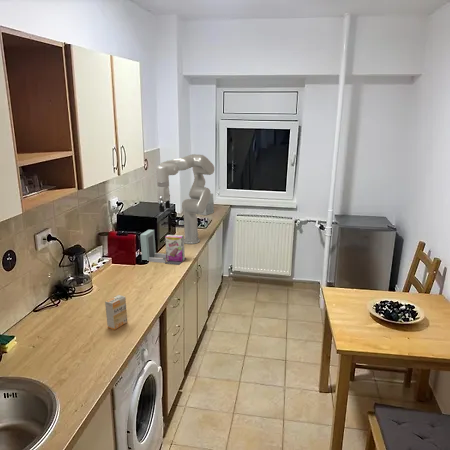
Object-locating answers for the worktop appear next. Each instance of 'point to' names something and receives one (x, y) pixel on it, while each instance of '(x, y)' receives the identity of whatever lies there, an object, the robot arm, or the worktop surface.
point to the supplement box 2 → (208, 206)
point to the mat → (174, 262)
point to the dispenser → (150, 248)
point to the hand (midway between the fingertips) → (165, 209)
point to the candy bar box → (175, 248)
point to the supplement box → (116, 312)
